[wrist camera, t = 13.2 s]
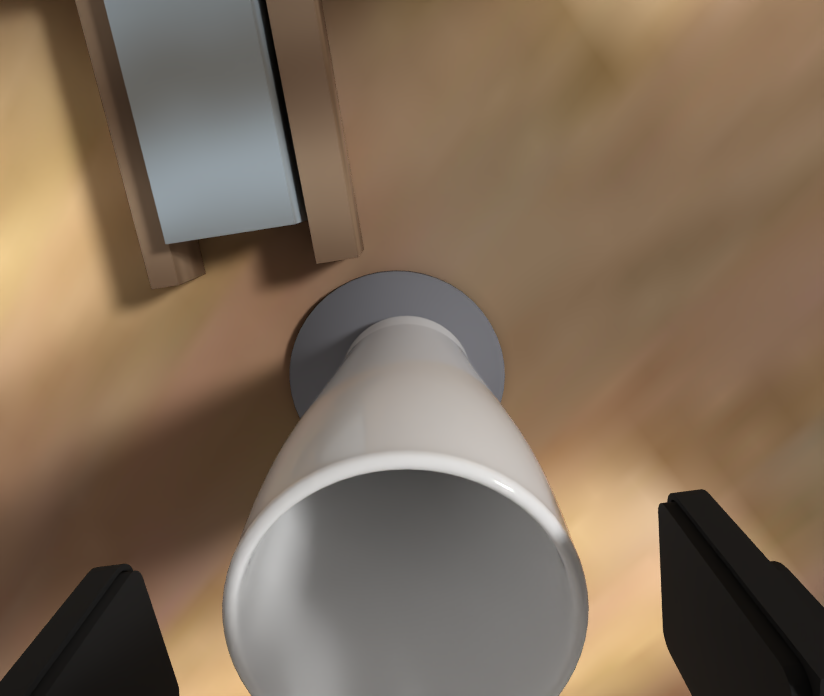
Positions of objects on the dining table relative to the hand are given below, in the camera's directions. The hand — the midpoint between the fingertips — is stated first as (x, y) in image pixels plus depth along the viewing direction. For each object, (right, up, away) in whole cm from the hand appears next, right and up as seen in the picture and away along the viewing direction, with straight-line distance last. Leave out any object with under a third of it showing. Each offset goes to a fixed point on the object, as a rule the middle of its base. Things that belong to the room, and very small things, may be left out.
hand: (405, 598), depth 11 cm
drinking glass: (0, +3, +15) cm, 15 cm away
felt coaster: (-1, +3, +15) cm, 15 cm away
